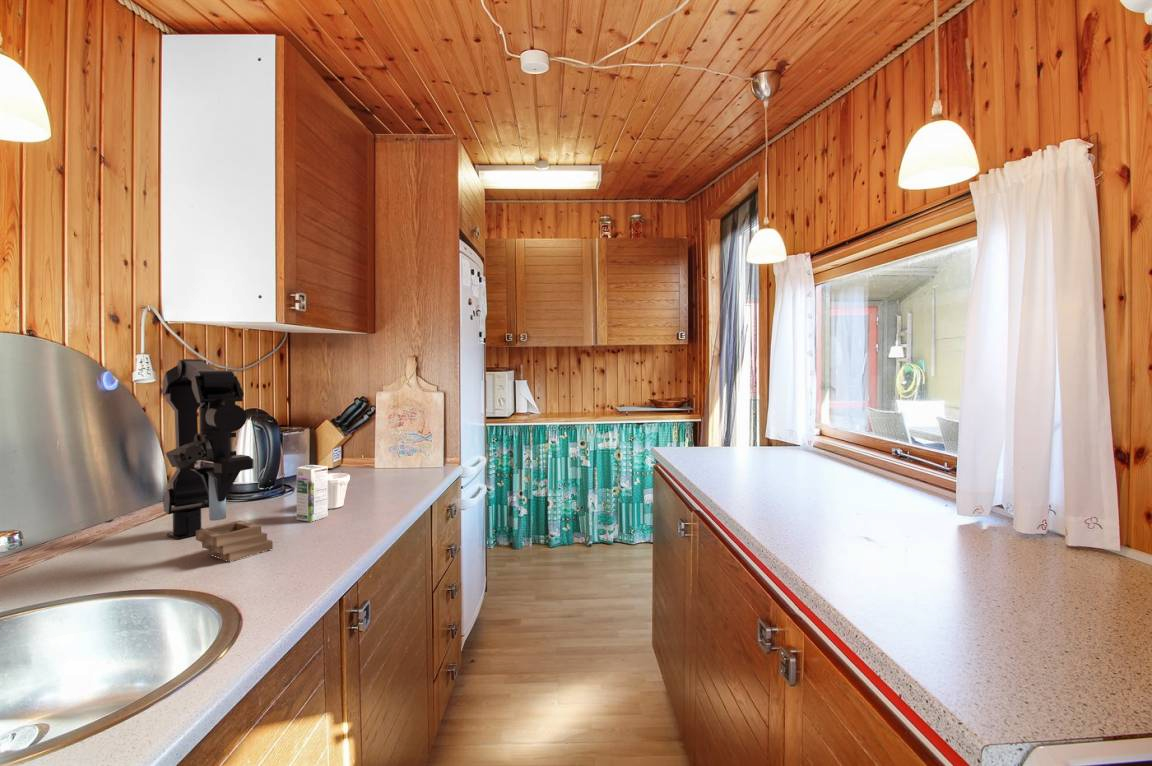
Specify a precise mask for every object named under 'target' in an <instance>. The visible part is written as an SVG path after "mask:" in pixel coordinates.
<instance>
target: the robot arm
mask: <svg viewBox="0 0 1152 766" xmlns="http://www.w3.org/2000/svg"><path fill="white" fill-rule="evenodd" d="M161 386H162V387H161V388H162V393H163V394H164V395H165V401H166V403H167V404H168V405H169V406H170V407H171V408H172V410H173V411H174V425H175V426H174V427H175V428H174V429H175V432H174V433H175V434H174V435H175V448H174V449H173V448H172V449H171V450H169V451H167V452H165V455H166V457H167V459H168V462H169V463H170V466H171V468H176V471H175V472H174V473H173V475H172V476H171V478H170V480H169V481H168V489H166V492H165V495H164V499H163V512H164V513H165V514H166V515H172V531H169V532H167V533H166V536H168V537H171V538H174V539H177V540H181V539H185V538H189V537H193V536H196V531H197V530H201V529H204V528H203V527H202V524H203V523H202V509H206V508H207V509H209V475H210V476H212V477H213V478H214V483H215V489H216V495H217V499H218V501H219V502H221V501H224V500H225V498H226V499H227V496H228V494H229V492H230V491H231V488H232V487H233V484H234V483H235V480H236V479H237V478H238V475H239V474H240V472H242V471H247V470H253V469H254V468H255V467H254V465H255V463H254V461H255V460H254V458H252V457H251V456H250V455H245V454H237V450H233V438H236V437H237V431H238V430H241V429H242V428H243V427H244V426H245V424H246V422H247V419H248V416H247V414H246V411H245V410H244V408H243V407H242V406H240V405H238V404H236V402H243V399H244V394H245V393H244V391H243V388H242V386H241V383H240V380H238V376H237V375H235V374H234V372H233V371H232V370H229V369H227V370H225V369H215V368H214V367H212V366H211V365H209V364H208V363H207V362H206V360H205V359H201V358H199V359H198V358H195V359H194V358H183V359H179V360H178V362H177V365H175V366H174V367H172V368H171V369H169V370H167V371H166V372H165V374H164V376H163V380H162V385H161ZM198 413H199V414H198ZM198 417H199V418H198ZM198 419H199V422H198ZM198 424H199V427H198Z"/></svg>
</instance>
